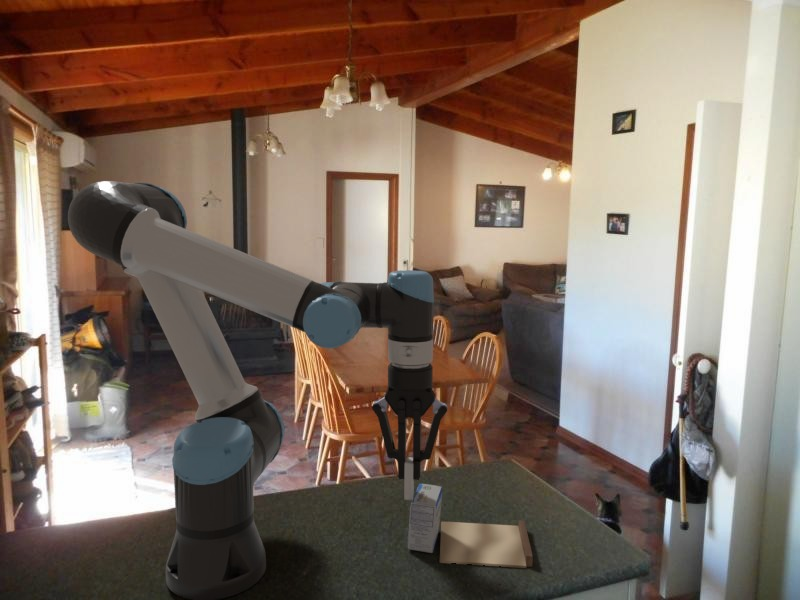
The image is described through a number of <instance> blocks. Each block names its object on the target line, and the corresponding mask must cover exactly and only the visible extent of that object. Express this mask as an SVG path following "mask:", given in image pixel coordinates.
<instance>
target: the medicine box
mask: <svg viewBox="0 0 800 600" xmlns="http://www.w3.org/2000/svg"><path fill="white" fill-rule="evenodd" d="M442 498H443V487H442V486H439V485H435V484H429V483H418V486H417V488H416V491H415V492H414V495H413V500H411V503H410V509H409V521H408V522H409V524H408V534H407V535H408V536H407V549H408V550H410V551H416V552H422V553H428V554H432V553H434V549H435V546H436V542H437V539H438V535H439V531H440V525H441V512H442V511H441V510H442V508H441V507H442V500H443V499H442Z"/></svg>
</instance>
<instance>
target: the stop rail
mask: <svg viewBox="0 0 800 600" xmlns="http://www.w3.org/2000/svg"><path fill="white" fill-rule="evenodd" d="M517 526H518V527H519V532H520V537H521V542H522V547H523V552H524V557H525V562H526V568H527V567H528V568H529V567H533V559H534V558H533V552H532V547H531V542H530V539H529V536H528V535H529V534H528V531H527V527H526V526H527V525H526V521H525V520H524V519H518V525H517Z"/></svg>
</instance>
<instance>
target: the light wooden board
mask: <svg viewBox="0 0 800 600" xmlns="http://www.w3.org/2000/svg"><path fill="white" fill-rule="evenodd" d="M518 526H519V525H514V524H513V525H511V524H495V523H478V522H458V521H441V520H440V543H439V544H440V547H439V549H440V550H439V563H440V564H451V563H456V565H467V564H472V565H471V566H483V565H485V566H488V567H499V566H501V567H502V568H505V567H506V568H516V569H517V568H518V569H527V566H526V562H525V557H524V552H523V547H522V542H521V537H520V532H519V527H518Z"/></svg>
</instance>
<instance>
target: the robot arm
mask: <svg viewBox="0 0 800 600" xmlns="http://www.w3.org/2000/svg"><path fill="white" fill-rule="evenodd" d="M67 223H68V227H69V230H70V232H71V236H73V239H75V241H76V242H77V243H78V244H79V246H80V247H82V248H83V249H84V250H86V251H88V252H89V253H91V254H93V255H94V256H97V257H100V258H102V259H104V260H107V261H110V262H112V263H115V264H118V265H120V266H121V269H122V270H123V273H124V274H126V275H129V276H133V277H135V278H136V279H138V280H137V281H138V282H139V284H140V285H141V288H142V290H143V292H144V294H145V296H146V298H147V300H148V302H149V305H150V306H151V308H152V310H153V312H154V314H155V317H156V319H157V320H158V323H159V325H160V327H161V329H162V331H163V333H164V335H165V337H166V339H167V342H168V344H169V345H170V348H171V350H172V352H173V353H174V356H175V358H176V360H177V362H178V364H179V366H180V368H181V370H182V372H183V374H184V377H185V379H186V381H187V383H188V385H189V387H190V389H191V392H192V393H193V395H194V398H195V399H196V401H197V404H198V408H197V410H196V412H195V415H194V419H195V421H196V422H193V423H192V424H190V425H188V426H185V428H184V429H183V430H181V432H179V434H177V437H176V439H175V440H174V443H173V455H172V469H173V483H174V486H173V487H174V503H175V504H174V507H175V534H174V538H173V541H172V544H171V547H170V550H169V554H168V557H167V561H166V564H165V581H166V582H165V583H166V586H167V588H168V590H170V591H171V592H172V593H173V594H174V595H176V596H178V597H180V598H183V599H187V600H221V599H226V598H230V597H234V596H235V595H238V594H240V593H243V592H245V591H247V590H249V589H251V588H252V587H253V586H254V585H256V584H257V583H258V582H259V581H261V579H262V577H263V576H264V574H265V573H266V569H267V558H266V556H267V553H266V549H265V547H264V544H263V541H262V537H260V536H261V535H260V533H259V531H258V528H257V526H256V523H255V519H254V518H255V515H254V513H255V512H254V511H255V510H254V509H255V508H254V506H255V505H254V486H255V483H256V481H257V480H258V478H259V477H260V476H261V475H262V473H263V472H264V471H265V470H266V469H267V468H268V466H269V465H270V464H271V463H272V462H273V461H274V460H275V458H276V457H277V455H278V453H280V449H281V447H282V445H283V442H284V438H285V423H284V420H283V417H282V414H281V413H280V411H279V410H278V409H277V407H276V406H275V405H274V404H273V403H271V402H269V401H266V400H265V399H264V398H263V396H262V395H261V392H260V390H259V388H258V387H257V386H256V385H252V384H249V383H247V382H246V381H245V379H244V376H243V375H242V373H241V370H240V369H239V366H238V365H237V362H236V360H235V357H234V356H233V354H232V352H231V349H230V347H229V346H228V343H227V341H226V338H225V337H224V335H223V333H222V330H221V328H220V326H219V324H218V322H217V320H216V318H215V316H214V313H213V311H212V310H211V307H210V305H209V303H208V300H207V299H206V296H205V295H204V293H205V292H206V293H207V294H209V295H212V296H215V297H217V298H219V299H222V300H225V301H227V302H230V303H232V304H235V305H237V306H239V307H241V308H244V309H247V310H249V311H251V312H254V313H255V314H256V313H257V314H260V315H261V316H264V317H266V318H269V319H271V320H274V321H275V322H279V323H281V324H283V325H286V326H289V327H291V328H294V329H296V330H298V331H300V332H303V333H305V335H306V337H307V338H308V339H309V340H310V341H311V343H312V344H315V345H316V346H318V347H320V348H323V349H328V350H329V349H331V350H332V349H335V348H336V349H337V348H340V347H342V346H343V345H345V344H347V343H350V342H351V340H353V339H354V338H355V336H356V335H357V334H358V333H359V332H360V329H361V328H362V329H363V328H365V329H366V328H368V329H369V328H370V329H371V328H373V329H375V328H377V329H383V328H384V329H387V331H388V333H387V361H388V362H389V364H388V366H387V390H386V392H385V394H384V397H382V398H380V399H376V400H374V402H373V403H372V405H371V410H372V411H373V412H374V414H375V416H376V417H377V419H378V423H379V427H380V430H381V434H382V435H381V436H382V440H383V442H384V443H383V444H384V447H385V453H386V455H387V458H389V459H394V460H396V462H397V477H398V480H404V481H403V482H404V484H403V486H404V487H403V488H404V490H403V491H404V494H403V495H404V498H403V499H404V500H406V501H407V500H408V501H412V500H413V498H414V496H415V491H414V490H415V481H417V480H418V481H419V480H420V478H421V464H422V463H421V462H423V461H424V460H427V461H428V460H430V459H431V458H432V454H433V450H434V446H435V443H436V439H437V435H438V432H439V428H440V424H441V421H442V419H443V417H444V416H445V414H446V413H447V412H448V404H447V402H445V401H440V400H439V399H438V398H436V394H435V392H434V389H433V377H434V376H433V375H434V373H433V371H434V370H433V365H432V362H433V360H434V315H435V312H434V311H435V298H434V297H435V296H434V278H433V276H432V274H431V273H429V272H428V271H424V270H414V269H410V270H408V269H407V270H406V269H405V270H394V271H393V270H392V271H391V272H389V274H388V277H387V280H386V282H377V283H376V282H375V283H374V282H351V281H350V282H349V281H348V282H347V281H345V282H344V281H340V280H336V281H332V282H330V281H329V282H328V281H327V282H326V281H325V282H321V283H319V282H316V281H314V280H313V279H310V278H307V277H305V276H302V275H301V274H297V273H295V272H292V271H290V270H287V269H286V268H282V267H280V266H278V265H275V264H273V263H272V262H271V263H270V262H269V261H266V260H263V259H261V258H258V257H256V256H253V255H250V254H248V253H245V252H244V251H241V250H239V249H237V248H236V249H235V248H234V247H231V246H229V245H226V244H224V243H221V242H219V241H216V240H214V239H212V238H209V237H207V236H204V235H202V234H199V233H196V232H194V231H191V230H189V229H187V227H188V218H187V214H186V211H185V208H184V206H183V204H182V203H181V201H180V199H178V197H176V196H175V194H173V193H172V192H171V191H169V190H168V189H166V188H163V187H161V186H158V185H154V184H152V183H148V182H134V183H133V182H121V181H115V180H101V181H96V182H94V183H93V182H92V183H90V184H88V185H86V186H84V187H83V188H82V189H81V190H79V191H78V192H77V193H76V194H75V196H74V197H73V198H72V200H71V202H70V204H69V208H68V210H67ZM203 292H204V293H203ZM388 406H389V407H390V408H391V410H392V411H393V412H394V414H395V416H397V448H396V445H395V442H394V436H393V433H392V428H391V425H390V420H389V416H388V414H387V410H388ZM431 406H433V407H432V413H433V417H432V420H431V424H430V429H429V432H428V436H427V439H426V442H425V447H424V449H422V417H423V416H424V415H425V414H426V413H427V411H428V410H429V409H430V408H431ZM407 418H409V419H410V418H411V419H412V423H413V424H412V425H413V430H412V431H413V434H412V436H413V437H412V457H411V456H409V457H407Z"/></svg>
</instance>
